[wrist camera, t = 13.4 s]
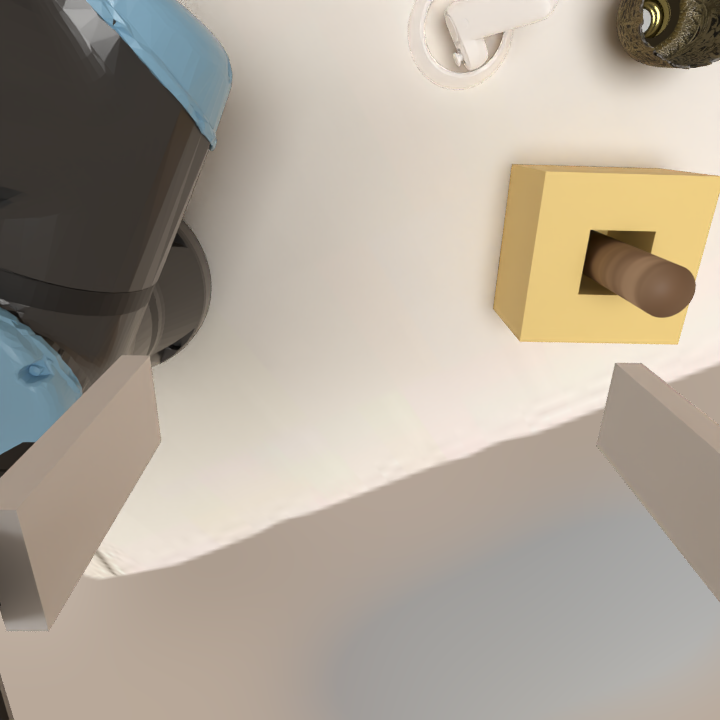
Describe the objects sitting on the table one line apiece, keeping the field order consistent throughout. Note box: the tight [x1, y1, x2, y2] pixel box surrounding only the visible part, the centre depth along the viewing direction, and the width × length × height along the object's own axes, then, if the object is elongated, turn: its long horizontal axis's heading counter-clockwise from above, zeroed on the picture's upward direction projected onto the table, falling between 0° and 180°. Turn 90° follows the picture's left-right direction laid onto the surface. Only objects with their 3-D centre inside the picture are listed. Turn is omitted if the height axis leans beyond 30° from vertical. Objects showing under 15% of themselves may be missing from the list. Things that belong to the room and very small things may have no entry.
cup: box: [617, 0, 720, 69], centre depth 36 cm, size 8×7×8 cm
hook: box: [408, 0, 558, 90], centre depth 37 cm, size 8×12×7 cm
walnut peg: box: [582, 230, 696, 318], centre depth 38 cm, size 3×3×14 cm
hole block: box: [493, 164, 720, 344], centre depth 42 cm, size 12×12×8 cm
